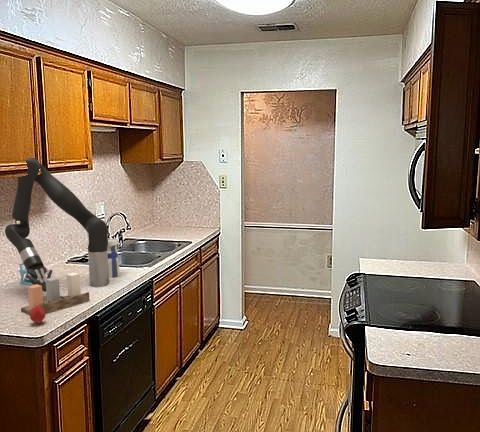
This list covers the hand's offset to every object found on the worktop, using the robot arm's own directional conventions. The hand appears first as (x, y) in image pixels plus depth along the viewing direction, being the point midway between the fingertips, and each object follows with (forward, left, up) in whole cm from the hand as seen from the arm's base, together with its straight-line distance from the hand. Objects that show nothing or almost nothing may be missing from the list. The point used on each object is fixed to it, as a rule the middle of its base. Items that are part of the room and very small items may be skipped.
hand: (46, 290), depth 220 cm
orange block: (+13, +3, -4) cm, 14 cm away
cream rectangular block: (-6, +10, -4) cm, 12 cm away
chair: (-25, -26, -6) cm, 36 cm away
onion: (+24, +10, -6) cm, 27 cm away
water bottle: (-44, +10, -6) cm, 46 cm away
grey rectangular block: (+3, +5, -4) cm, 7 cm away
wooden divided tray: (+4, +6, -5) cm, 9 cm away
